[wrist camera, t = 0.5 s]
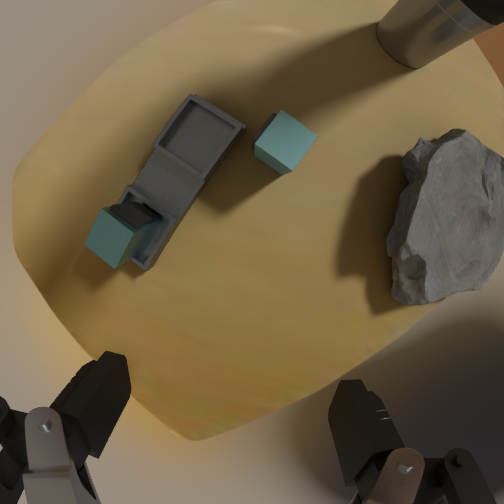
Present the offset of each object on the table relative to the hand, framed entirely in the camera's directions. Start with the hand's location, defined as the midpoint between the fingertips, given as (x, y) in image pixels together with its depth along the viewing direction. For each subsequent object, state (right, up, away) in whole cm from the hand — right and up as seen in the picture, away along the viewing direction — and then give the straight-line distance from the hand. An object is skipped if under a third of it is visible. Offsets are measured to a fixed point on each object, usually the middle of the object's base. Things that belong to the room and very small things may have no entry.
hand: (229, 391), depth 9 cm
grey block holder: (-9, +13, +22) cm, 27 cm away
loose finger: (+4, +16, +21) cm, 27 cm away
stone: (+28, +10, +23) cm, 38 cm away
